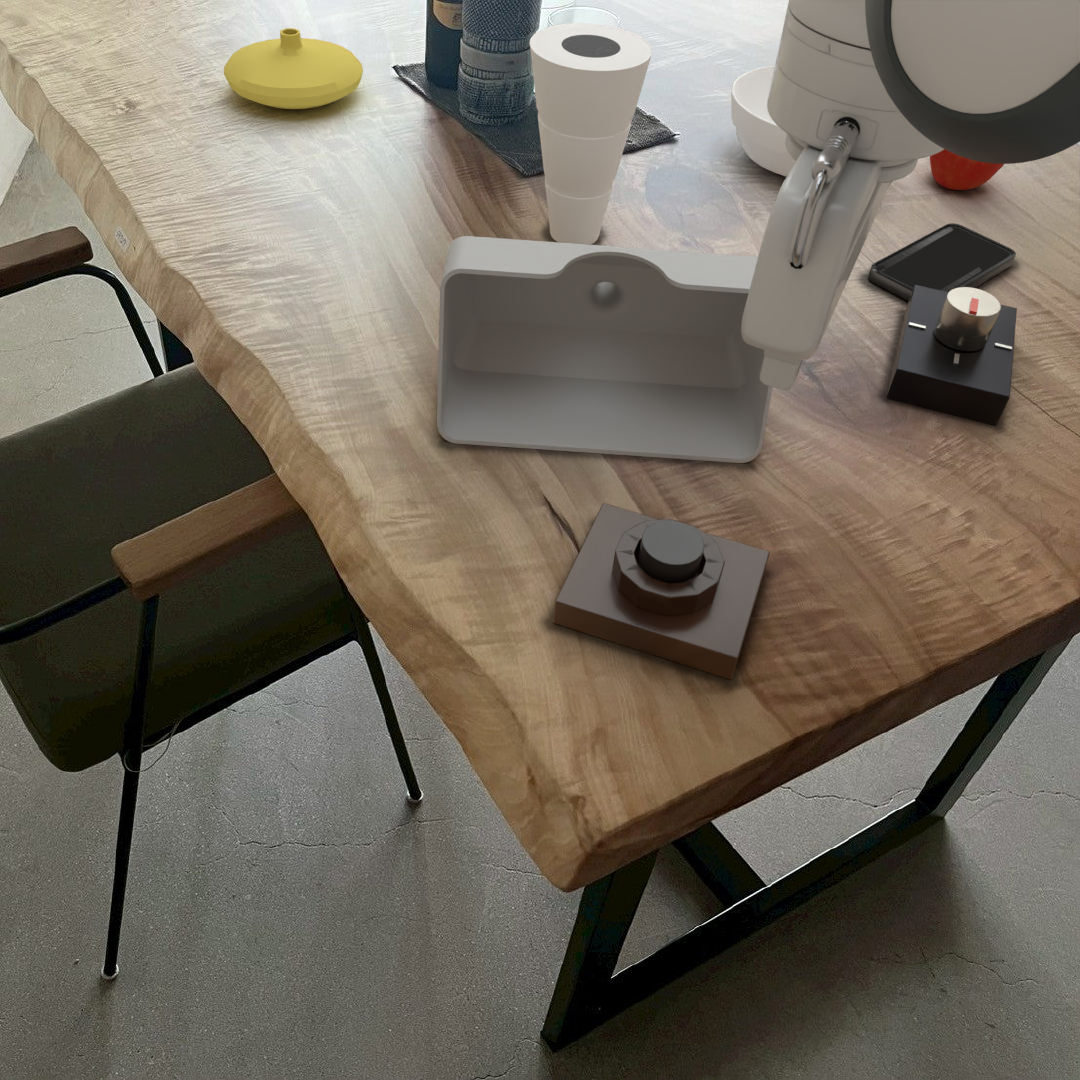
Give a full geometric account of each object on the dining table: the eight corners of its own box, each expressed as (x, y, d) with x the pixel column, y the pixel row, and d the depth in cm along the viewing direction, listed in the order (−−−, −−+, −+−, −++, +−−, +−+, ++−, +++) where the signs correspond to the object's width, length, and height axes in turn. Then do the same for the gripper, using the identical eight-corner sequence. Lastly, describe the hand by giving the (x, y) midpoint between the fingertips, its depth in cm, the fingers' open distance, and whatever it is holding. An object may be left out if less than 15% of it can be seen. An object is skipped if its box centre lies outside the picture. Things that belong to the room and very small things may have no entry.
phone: (866, 267, 100) (953, 220, 107) (863, 277, 101) (949, 230, 108) (936, 304, 96) (1021, 253, 103) (932, 314, 97) (1017, 263, 104)
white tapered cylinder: (649, 235, 104) (676, 49, 91) (580, 275, 98) (598, 81, 86) (569, 196, 109) (584, 14, 96) (498, 231, 103) (504, 42, 90)
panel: (904, 312, 97) (915, 282, 95) (1004, 336, 95) (1017, 306, 93) (886, 397, 88) (897, 367, 85) (996, 425, 86) (1010, 395, 84)
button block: (763, 572, 73) (776, 532, 70) (731, 680, 66) (743, 640, 63) (599, 524, 75) (605, 483, 72) (552, 623, 68) (556, 582, 66)
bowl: (872, 135, 124) (890, 73, 118) (893, 211, 111) (915, 144, 106) (717, 120, 124) (729, 57, 119) (721, 193, 111) (734, 127, 106)
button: (706, 549, 69) (710, 530, 68) (691, 591, 66) (695, 572, 65) (648, 532, 70) (651, 513, 68) (630, 572, 67) (634, 553, 66)
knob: (936, 317, 91) (950, 278, 88) (987, 329, 90) (1004, 291, 88) (931, 343, 88) (946, 305, 85) (984, 356, 87) (1001, 318, 85)
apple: (984, 210, 112) (1023, 111, 104) (909, 187, 115) (942, 89, 107) (1003, 181, 117) (1041, 84, 109) (931, 160, 120) (963, 64, 112)
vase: (238, 65, 127) (228, 3, 122) (368, 70, 129) (364, 9, 124) (217, 122, 116) (206, 57, 111) (360, 126, 118) (356, 62, 113)
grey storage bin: (740, 344, 92) (770, 213, 83) (759, 464, 81) (796, 327, 72) (456, 324, 92) (456, 190, 83) (436, 442, 80) (433, 302, 72)
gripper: (896, 195, 41) (810, 462, 51) (967, 28, 54) (888, 265, 64) (741, 157, 42) (687, 423, 52) (847, 4, 56) (788, 238, 66)
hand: (799, 334), depth 58 cm, fingers open, 8 cm apart
